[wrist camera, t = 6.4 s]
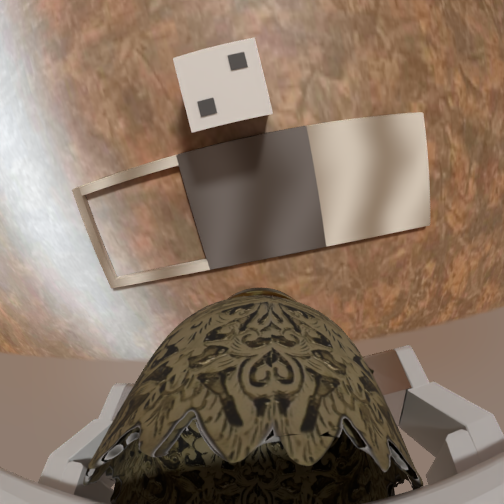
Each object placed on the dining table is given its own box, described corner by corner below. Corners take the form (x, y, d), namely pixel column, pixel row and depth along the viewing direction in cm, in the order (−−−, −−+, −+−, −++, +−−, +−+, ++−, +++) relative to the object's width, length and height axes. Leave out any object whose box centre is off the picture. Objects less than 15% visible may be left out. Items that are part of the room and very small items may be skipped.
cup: (336, 384, 14) (360, 544, 6) (177, 376, 14) (135, 533, 7) (373, 235, 10) (493, 435, 3) (158, 224, 11) (20, 414, 3)
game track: (113, 285, 29) (111, 288, 28) (75, 188, 25) (72, 189, 24) (427, 222, 26) (430, 225, 25) (419, 112, 22) (423, 112, 21)
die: (203, 127, 23) (191, 132, 18) (188, 67, 21) (172, 57, 16) (268, 112, 22) (272, 113, 18) (254, 51, 20) (254, 37, 16)
